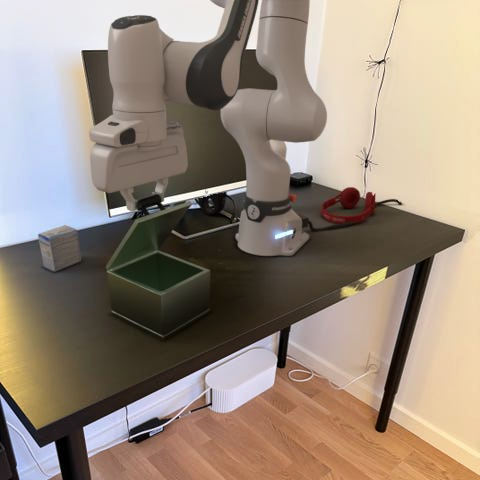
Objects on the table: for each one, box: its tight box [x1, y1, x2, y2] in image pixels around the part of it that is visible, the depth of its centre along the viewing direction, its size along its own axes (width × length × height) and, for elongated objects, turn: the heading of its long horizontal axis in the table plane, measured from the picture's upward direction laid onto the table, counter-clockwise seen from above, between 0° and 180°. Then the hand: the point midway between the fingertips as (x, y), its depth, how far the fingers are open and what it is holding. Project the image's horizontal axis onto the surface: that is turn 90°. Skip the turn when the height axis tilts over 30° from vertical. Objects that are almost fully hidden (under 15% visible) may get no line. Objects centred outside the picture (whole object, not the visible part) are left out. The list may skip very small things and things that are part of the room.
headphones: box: [321, 186, 376, 224], centre depth 157 cm, size 15×7×20 cm
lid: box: [105, 194, 193, 271], centre depth 93 cm, size 16×14×5 cm
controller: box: [197, 191, 228, 216], centre depth 151 cm, size 4×12×10 cm, turn 53°
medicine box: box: [37, 224, 82, 273], centre depth 116 cm, size 8×4×9 cm, turn 145°
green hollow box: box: [106, 249, 211, 341], centre depth 98 cm, size 15×14×10 cm
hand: (145, 205), depth 90 cm, fingers closed on lid, 5 cm apart
